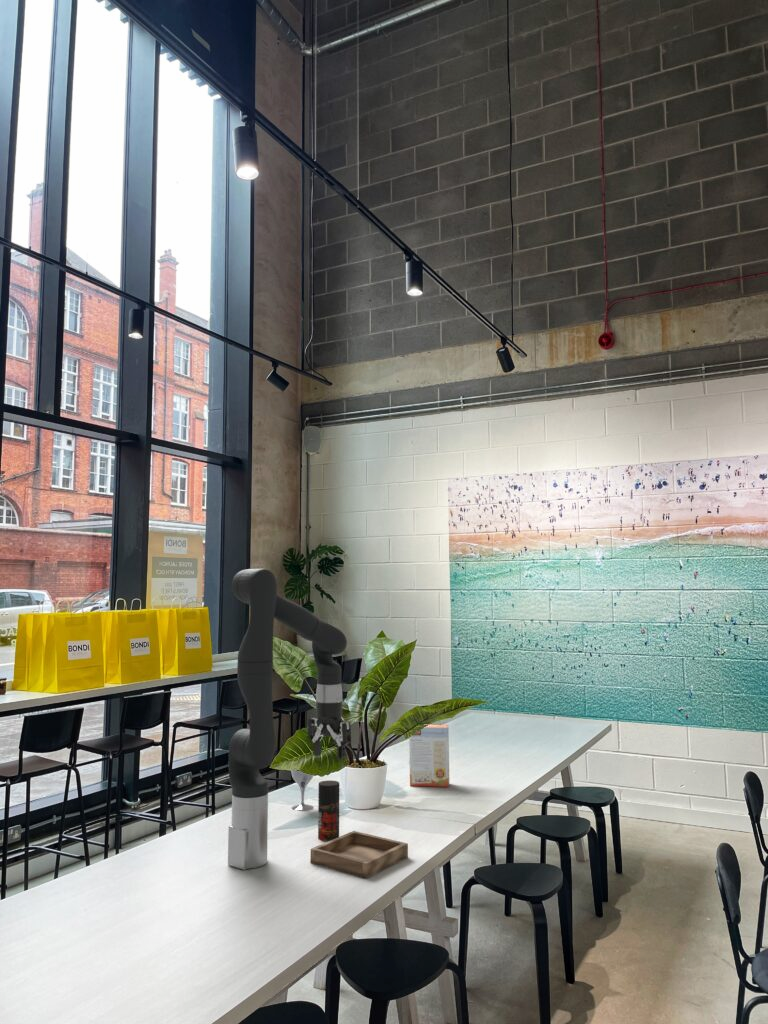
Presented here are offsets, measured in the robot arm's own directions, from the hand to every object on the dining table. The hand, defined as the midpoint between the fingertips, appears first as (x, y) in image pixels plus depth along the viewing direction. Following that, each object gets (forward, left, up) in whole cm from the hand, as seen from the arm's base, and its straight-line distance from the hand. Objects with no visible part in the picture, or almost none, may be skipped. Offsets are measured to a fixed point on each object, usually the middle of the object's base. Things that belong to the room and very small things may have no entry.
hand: (329, 757), depth 215 cm
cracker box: (+66, +8, -22) cm, 70 cm away
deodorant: (0, 0, -22) cm, 22 cm away
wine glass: (+18, +26, -22) cm, 39 cm away
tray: (-9, -18, -22) cm, 30 cm away
